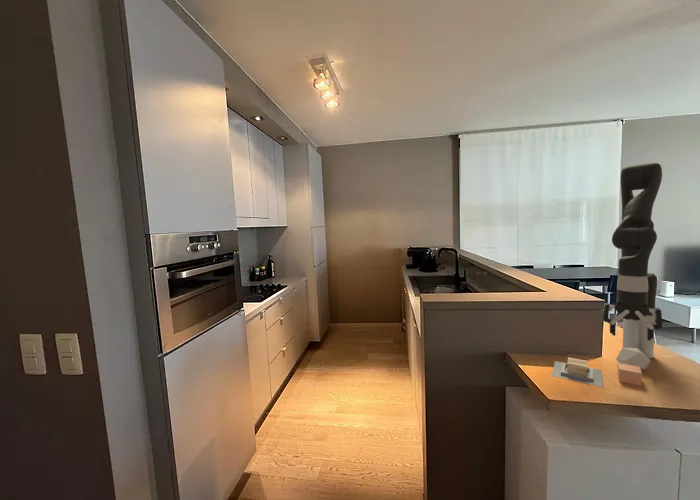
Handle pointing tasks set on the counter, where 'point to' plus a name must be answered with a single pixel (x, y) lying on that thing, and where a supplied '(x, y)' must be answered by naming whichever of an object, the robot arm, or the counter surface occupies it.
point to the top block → (629, 374)
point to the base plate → (592, 374)
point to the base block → (577, 366)
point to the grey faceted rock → (633, 358)
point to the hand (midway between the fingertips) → (630, 337)
